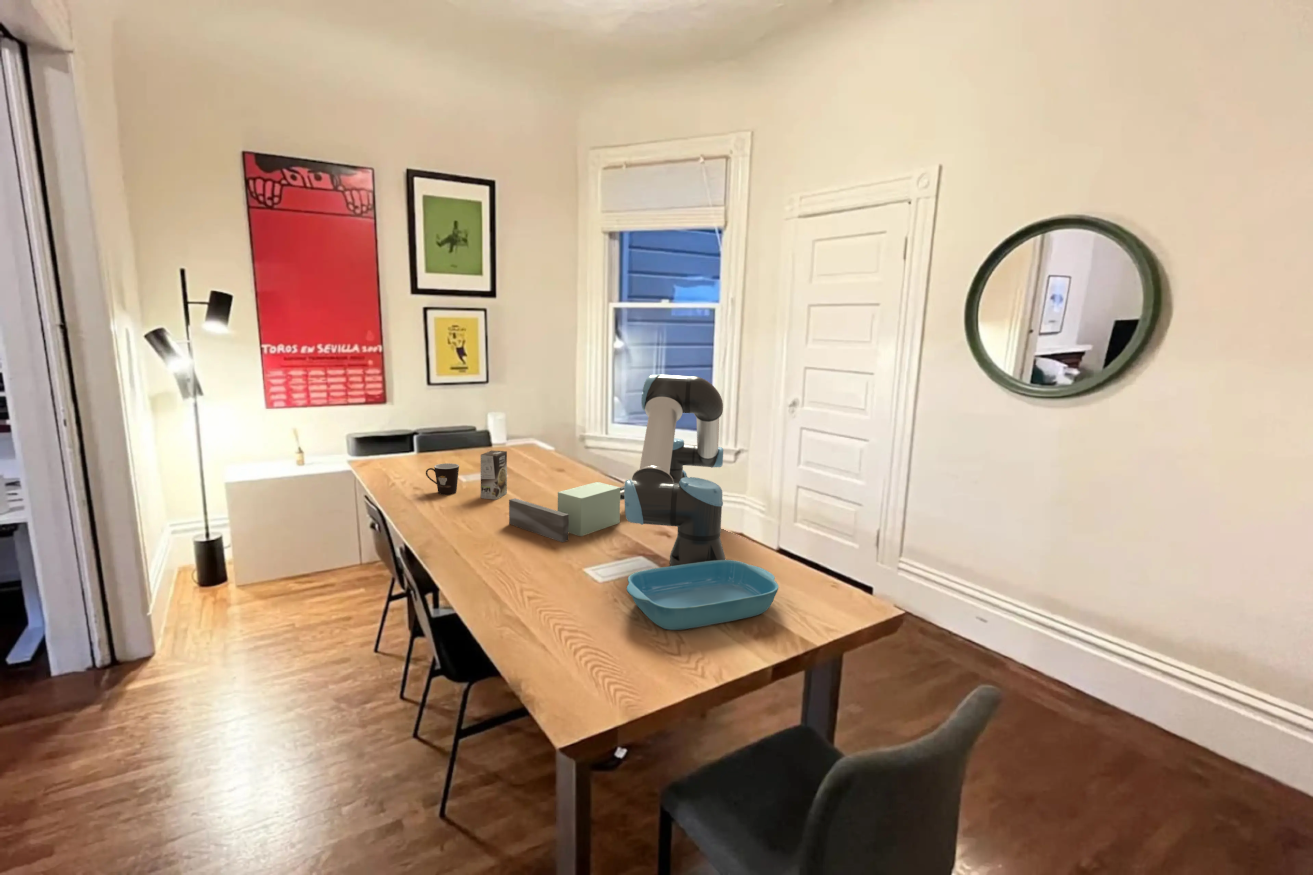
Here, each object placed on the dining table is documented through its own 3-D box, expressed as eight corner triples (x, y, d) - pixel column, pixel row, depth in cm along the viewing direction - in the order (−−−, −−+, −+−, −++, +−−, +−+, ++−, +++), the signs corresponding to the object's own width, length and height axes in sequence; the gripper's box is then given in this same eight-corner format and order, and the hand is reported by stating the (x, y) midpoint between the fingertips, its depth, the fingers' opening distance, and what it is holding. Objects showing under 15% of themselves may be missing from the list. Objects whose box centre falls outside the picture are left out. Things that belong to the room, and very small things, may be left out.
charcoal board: (515, 522, 202) (515, 498, 201) (568, 540, 188) (568, 514, 186) (509, 524, 200) (509, 499, 199) (562, 542, 186) (562, 516, 184)
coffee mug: (464, 492, 234) (464, 465, 232) (445, 497, 227) (445, 469, 225) (443, 486, 240) (442, 461, 238) (424, 491, 233) (423, 464, 231)
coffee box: (496, 500, 226) (496, 455, 223) (480, 498, 227) (479, 454, 224) (507, 493, 235) (507, 450, 232) (491, 492, 236) (491, 449, 233)
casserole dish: (741, 579, 165) (742, 553, 164) (795, 615, 145) (798, 586, 144) (609, 601, 148) (610, 573, 147) (651, 646, 129) (652, 613, 128)
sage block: (596, 516, 212) (597, 481, 210) (619, 523, 206) (620, 487, 204) (557, 529, 198) (557, 492, 195) (580, 536, 192) (581, 498, 189)
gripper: (670, 499, 224) (626, 513, 206) (641, 492, 232) (597, 505, 214) (670, 478, 223) (627, 490, 205) (642, 472, 231) (597, 483, 212)
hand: (612, 498), depth 209 cm, fingers closed
